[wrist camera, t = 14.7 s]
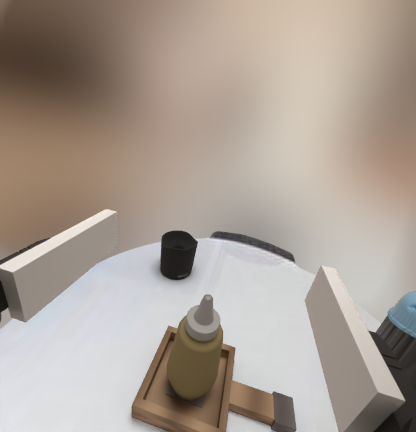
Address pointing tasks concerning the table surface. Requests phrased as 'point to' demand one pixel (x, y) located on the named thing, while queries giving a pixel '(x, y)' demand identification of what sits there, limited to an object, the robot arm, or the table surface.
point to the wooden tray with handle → (206, 399)
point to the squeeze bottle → (196, 351)
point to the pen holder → (177, 254)
